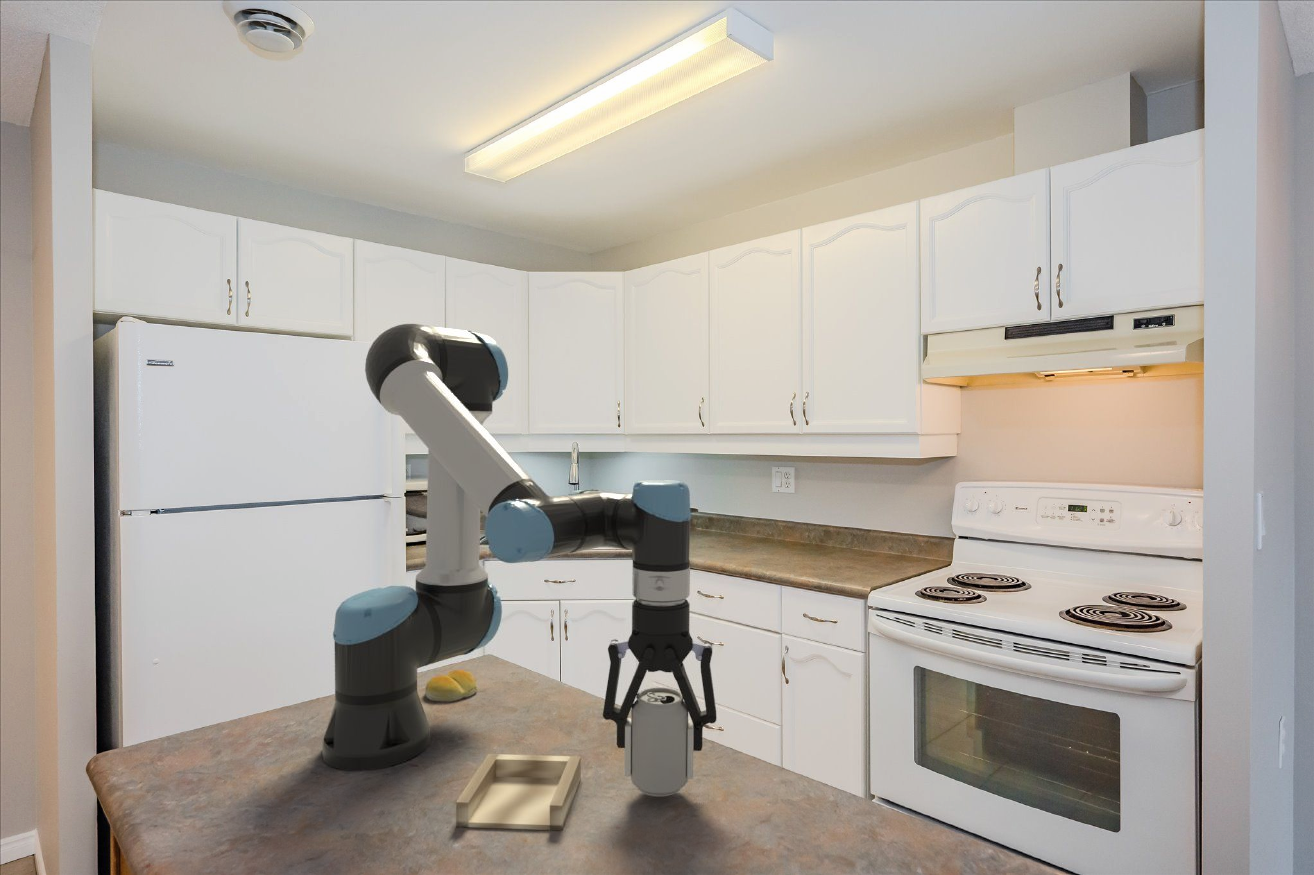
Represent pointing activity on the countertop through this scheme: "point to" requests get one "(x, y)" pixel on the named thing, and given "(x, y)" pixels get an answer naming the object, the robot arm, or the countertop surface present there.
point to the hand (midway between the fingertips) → (659, 772)
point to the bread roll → (451, 686)
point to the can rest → (520, 792)
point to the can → (659, 741)
